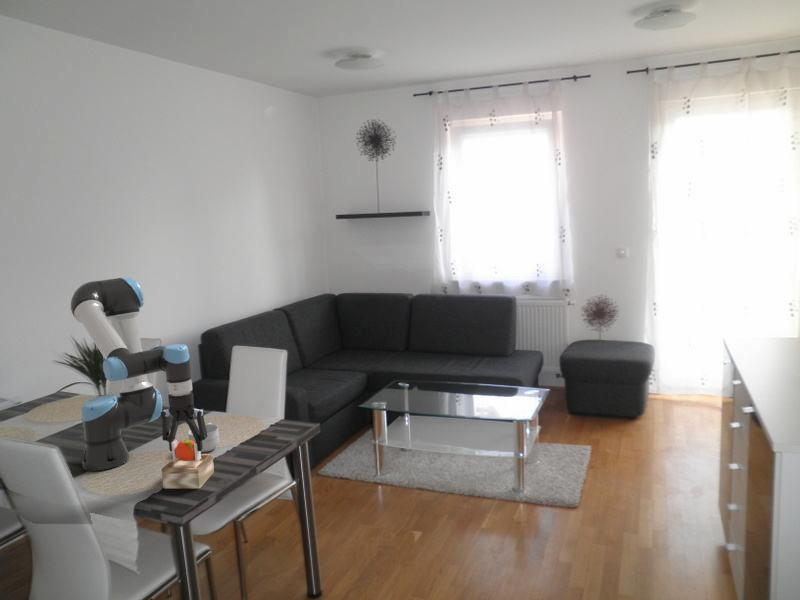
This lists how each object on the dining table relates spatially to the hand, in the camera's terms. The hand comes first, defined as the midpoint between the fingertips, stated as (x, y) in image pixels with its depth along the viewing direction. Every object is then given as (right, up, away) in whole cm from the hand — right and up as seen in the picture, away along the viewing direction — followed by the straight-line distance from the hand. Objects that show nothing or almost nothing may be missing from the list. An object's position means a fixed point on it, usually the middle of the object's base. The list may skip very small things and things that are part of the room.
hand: (187, 459), depth 206 cm
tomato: (0, 0, 0) cm, 1 cm away
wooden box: (0, -7, +1) cm, 7 cm away
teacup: (-2, -3, +28) cm, 28 cm away
